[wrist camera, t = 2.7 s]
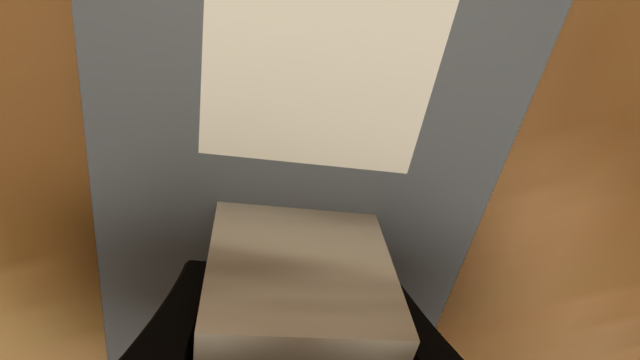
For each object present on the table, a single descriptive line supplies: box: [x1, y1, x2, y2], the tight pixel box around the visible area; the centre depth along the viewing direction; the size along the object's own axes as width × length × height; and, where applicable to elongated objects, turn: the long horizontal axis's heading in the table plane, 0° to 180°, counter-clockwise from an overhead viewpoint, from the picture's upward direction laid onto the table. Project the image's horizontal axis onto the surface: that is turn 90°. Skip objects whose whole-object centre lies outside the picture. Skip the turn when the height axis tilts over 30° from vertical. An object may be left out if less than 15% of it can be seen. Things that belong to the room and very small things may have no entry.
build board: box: [71, 0, 573, 360], centre depth 14 cm, size 19×11×1 cm, turn 170°
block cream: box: [193, 201, 420, 360], centre depth 12 cm, size 4×4×4 cm
